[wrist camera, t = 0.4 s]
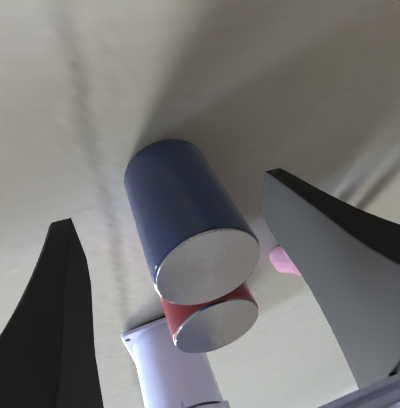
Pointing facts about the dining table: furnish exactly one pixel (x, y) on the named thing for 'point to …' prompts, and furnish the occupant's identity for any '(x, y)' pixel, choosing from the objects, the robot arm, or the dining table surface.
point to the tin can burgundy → (211, 321)
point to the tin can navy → (188, 224)
